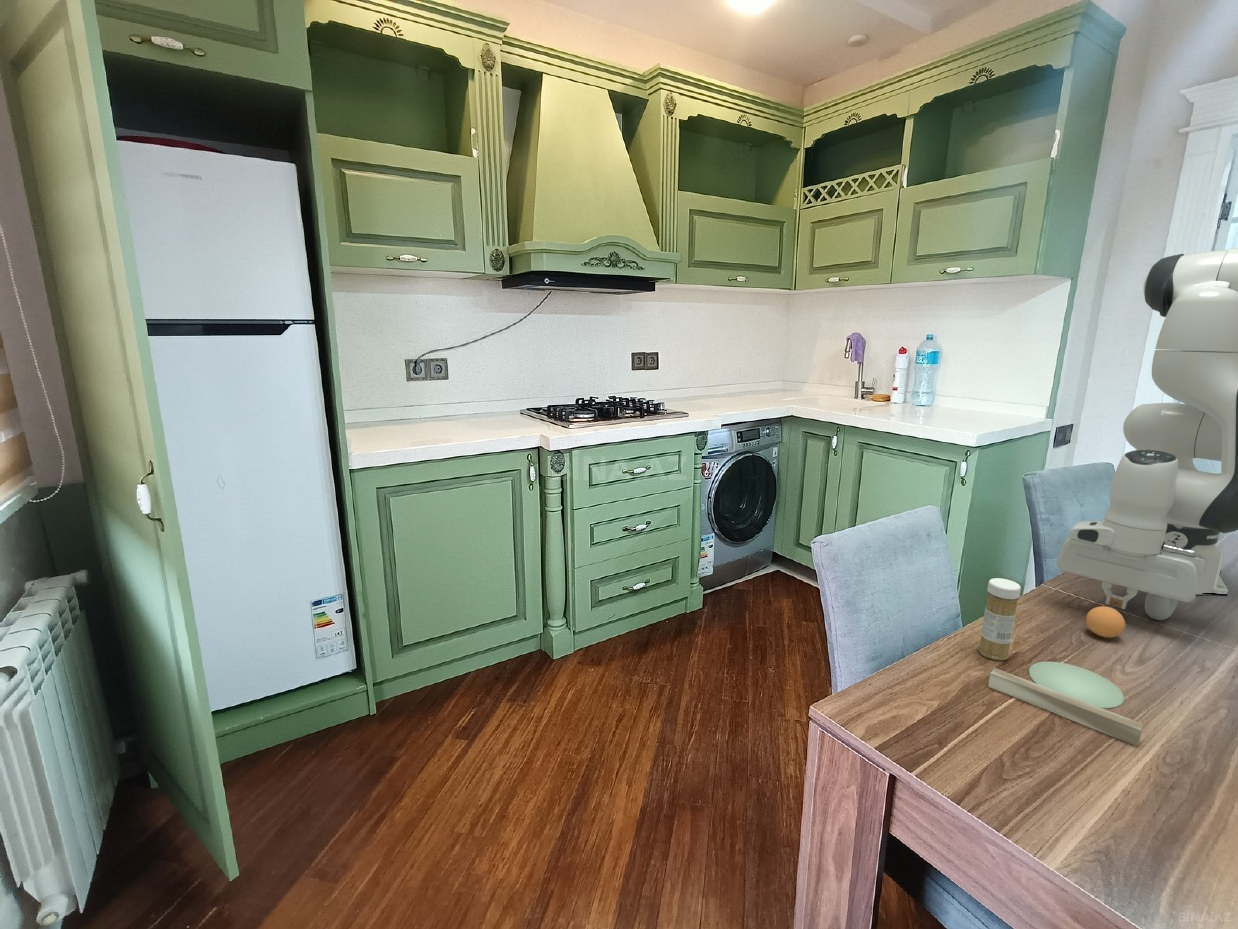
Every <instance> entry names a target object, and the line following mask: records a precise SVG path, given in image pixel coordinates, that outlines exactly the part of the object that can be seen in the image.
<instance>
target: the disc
mask: <svg viewBox="0 0 1238 929" xmlns="http://www.w3.org/2000/svg"><path fill="white" fill-rule="evenodd" d="M1028 673H1029V674H1028V675H1029V677H1030V678H1031V679H1032V682H1033V683H1036V684H1039V685H1041V686H1044V687H1047V688H1049V689H1052V690H1055V691H1057V692H1060V693H1063V694H1065V695H1068V696H1070V697H1073V698H1076V699H1078V700H1081V701H1084V702H1086V703H1089V704H1092V705H1094V706H1097V707H1100V708H1102V709H1113V708H1117V707H1119V706H1122V704H1123V703H1124V700H1125V696H1124V694H1123V692H1122V691H1121V689H1120V688H1119V687H1118V686H1117V685H1116V684H1115V683H1113V682H1112V681H1110V680H1109V679H1108V678H1105V677H1104V676H1102V675H1100V674H1098V673H1095V671H1091V670H1089V669H1086V668H1083V667H1081V666H1077V665H1074V664H1069V663H1065V662H1059V661H1058V662H1057V661H1039V662H1035V663H1034V664H1032V665H1030V666H1029V670H1028Z"/></svg>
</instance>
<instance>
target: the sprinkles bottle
mask: <svg viewBox="0 0 1238 929" xmlns="http://www.w3.org/2000/svg"><path fill="white" fill-rule="evenodd" d="M1021 589H1022V586H1021V585H1020V584H1019V583H1017V582H1015V581H1014V580H1009V579H1006V578H1002V577H1001V578H998V577H996V578H994V577H993V578H991V579H989V581H988V584H987V598H986V603H985V604H986V605H985V608H984V615H983V619H982V626H981V634H980V635H981V636H980V642H979V645H978V649H977V650H978V652H979V653H980V654H981V655H982V656H984V657H986V658H987V659H989V660H994V661H999V662H1000V661H1005V660H1008V659H1009V657H1010V656H1009V650H1010V646H1011V642H1012V638H1013V631H1014V627H1015V621H1016V612H1017V606H1018V600H1019V598H1020V595H1021Z"/></svg>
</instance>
